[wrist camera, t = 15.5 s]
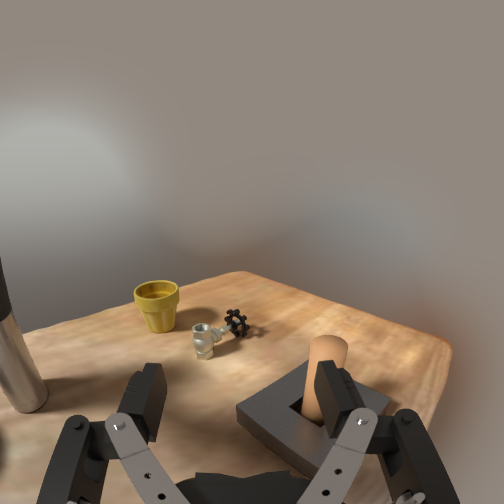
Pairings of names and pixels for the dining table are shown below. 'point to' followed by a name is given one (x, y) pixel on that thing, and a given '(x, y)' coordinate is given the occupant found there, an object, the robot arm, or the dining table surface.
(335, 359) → the peg
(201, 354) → the valve
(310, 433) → the socket block
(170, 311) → the plant pot
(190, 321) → the dining table surface
